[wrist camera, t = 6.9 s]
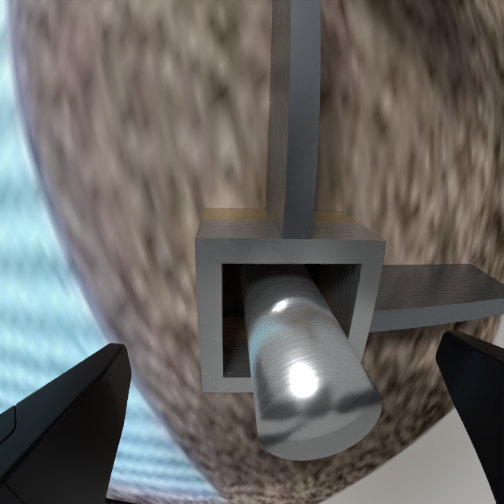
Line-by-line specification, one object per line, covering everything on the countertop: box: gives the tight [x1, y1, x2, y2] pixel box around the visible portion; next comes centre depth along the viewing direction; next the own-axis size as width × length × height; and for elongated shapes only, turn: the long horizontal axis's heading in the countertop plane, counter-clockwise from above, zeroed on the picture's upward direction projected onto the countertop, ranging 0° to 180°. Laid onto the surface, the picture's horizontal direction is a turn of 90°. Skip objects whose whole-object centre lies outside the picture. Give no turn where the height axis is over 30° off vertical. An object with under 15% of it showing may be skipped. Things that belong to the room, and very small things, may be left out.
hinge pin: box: [241, 264, 382, 460], centre depth 9 cm, size 3×3×8 cm
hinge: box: [195, 0, 504, 393], centre depth 10 cm, size 15×13×4 cm
